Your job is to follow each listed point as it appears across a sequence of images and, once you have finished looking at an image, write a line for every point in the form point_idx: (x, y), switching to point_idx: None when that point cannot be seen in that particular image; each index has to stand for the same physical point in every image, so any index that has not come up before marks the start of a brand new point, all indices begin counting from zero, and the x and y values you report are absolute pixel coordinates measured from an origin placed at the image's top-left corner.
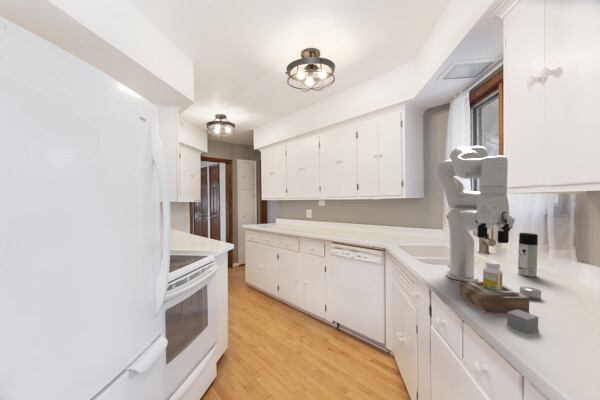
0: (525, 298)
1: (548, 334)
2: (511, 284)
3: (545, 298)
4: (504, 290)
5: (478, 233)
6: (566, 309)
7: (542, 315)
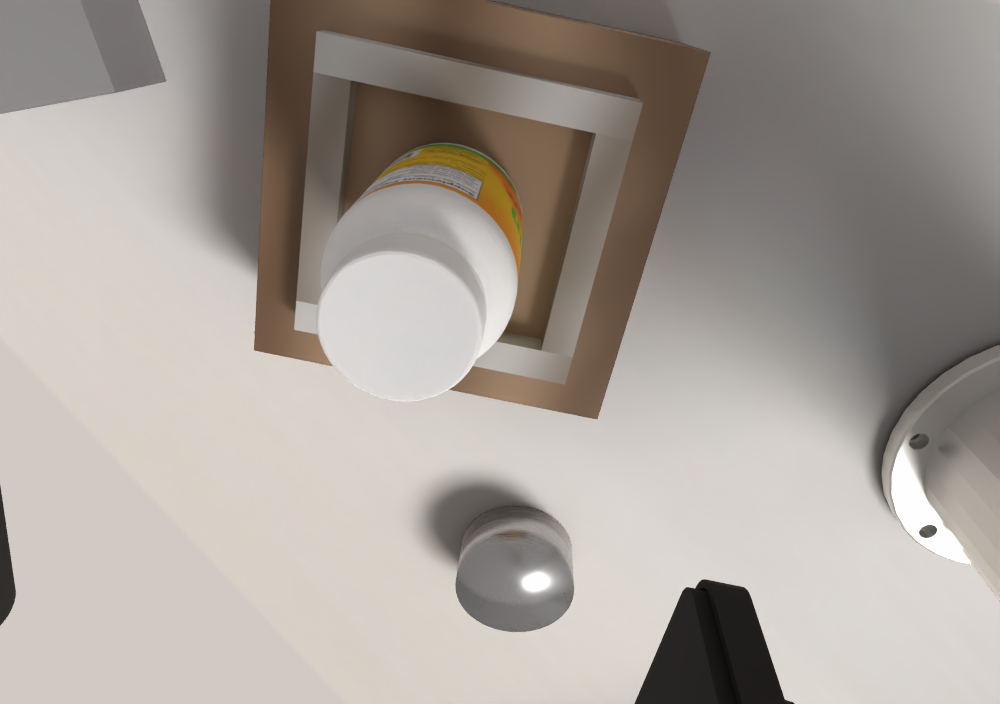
0: (256, 318)
1: None
2: None
3: None
4: None
5: (729, 665)
6: (323, 553)
7: None
